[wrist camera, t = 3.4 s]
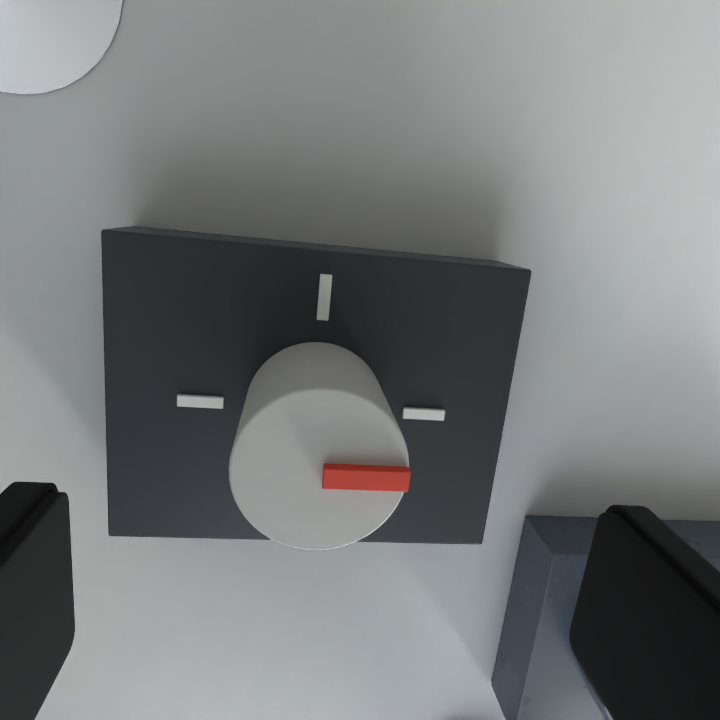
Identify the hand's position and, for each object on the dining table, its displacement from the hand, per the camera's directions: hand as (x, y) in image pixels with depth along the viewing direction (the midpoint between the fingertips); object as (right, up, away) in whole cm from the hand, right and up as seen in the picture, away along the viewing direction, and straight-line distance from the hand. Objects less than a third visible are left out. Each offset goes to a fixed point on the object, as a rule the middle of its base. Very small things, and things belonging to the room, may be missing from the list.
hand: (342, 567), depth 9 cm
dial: (-1, +2, +8) cm, 8 cm away
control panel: (-2, +3, +11) cm, 11 cm away
